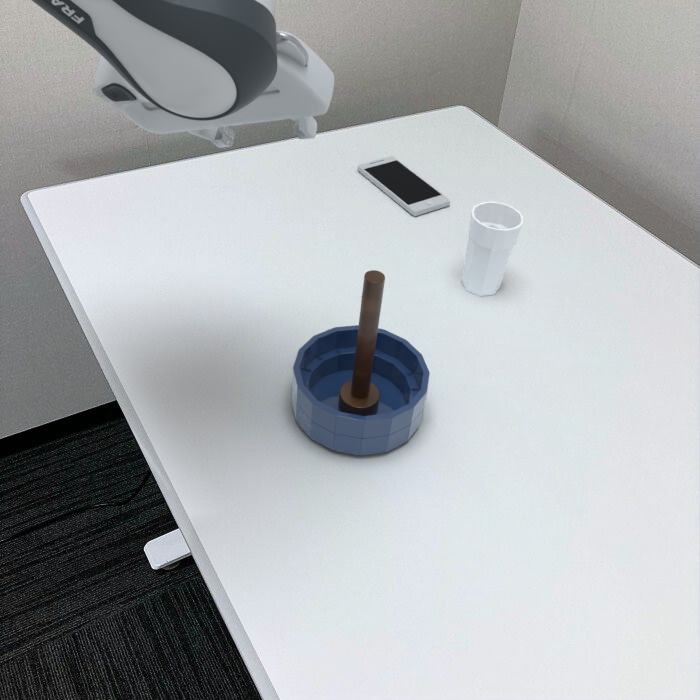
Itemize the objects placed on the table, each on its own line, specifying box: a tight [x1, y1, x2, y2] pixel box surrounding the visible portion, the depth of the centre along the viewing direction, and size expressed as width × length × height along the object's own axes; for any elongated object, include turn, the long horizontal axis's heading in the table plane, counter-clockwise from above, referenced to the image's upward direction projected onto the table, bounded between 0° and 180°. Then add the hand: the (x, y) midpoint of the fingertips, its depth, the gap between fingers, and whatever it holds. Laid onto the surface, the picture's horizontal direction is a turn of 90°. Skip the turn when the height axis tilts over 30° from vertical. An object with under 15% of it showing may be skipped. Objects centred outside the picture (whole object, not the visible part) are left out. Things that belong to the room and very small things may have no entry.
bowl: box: [291, 324, 431, 456], centre depth 85 cm, size 14×14×6 cm
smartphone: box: [357, 155, 451, 217], centre depth 122 cm, size 7×15×1 cm, turn 34°
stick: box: [339, 269, 386, 416], centre depth 80 cm, size 4×4×18 cm
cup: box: [461, 201, 525, 297], centre depth 102 cm, size 7×7×11 cm
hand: (267, 136), depth 75 cm, fingers open, 8 cm apart
